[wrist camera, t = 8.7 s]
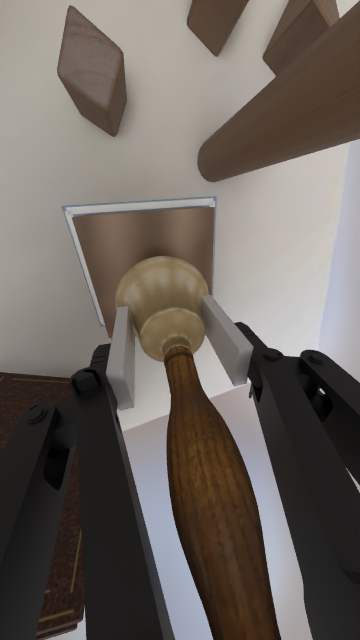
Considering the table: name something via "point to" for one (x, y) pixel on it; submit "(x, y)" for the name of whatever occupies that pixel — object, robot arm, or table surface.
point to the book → (67, 562)
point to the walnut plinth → (142, 246)
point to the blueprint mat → (127, 207)
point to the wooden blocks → (261, 111)
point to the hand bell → (202, 456)
